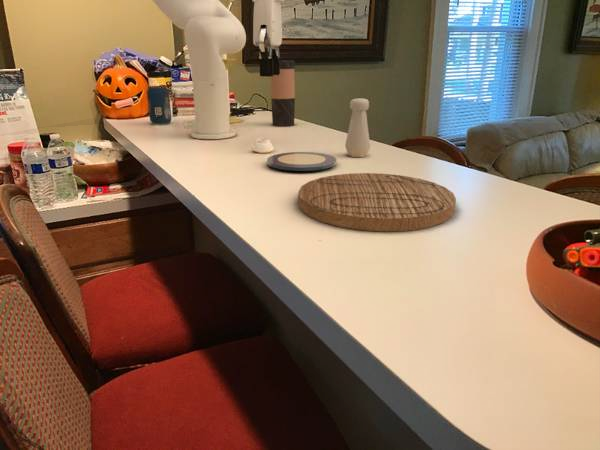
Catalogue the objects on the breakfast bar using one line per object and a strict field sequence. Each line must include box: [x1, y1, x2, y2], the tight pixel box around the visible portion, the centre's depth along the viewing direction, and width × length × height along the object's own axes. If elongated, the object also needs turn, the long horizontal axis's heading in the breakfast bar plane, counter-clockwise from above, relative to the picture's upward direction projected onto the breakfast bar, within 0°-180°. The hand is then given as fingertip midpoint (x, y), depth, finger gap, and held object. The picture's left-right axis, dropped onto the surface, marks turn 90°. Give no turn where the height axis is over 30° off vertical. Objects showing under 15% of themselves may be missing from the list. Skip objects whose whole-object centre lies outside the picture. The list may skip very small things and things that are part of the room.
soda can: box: [146, 85, 172, 126], centre depth 156 cm, size 7×7×12 cm
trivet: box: [297, 172, 457, 232], centre depth 76 cm, size 25×25×2 cm
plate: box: [266, 151, 337, 172], centre depth 102 cm, size 15×15×1 cm
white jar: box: [252, 137, 275, 154], centre depth 115 cm, size 5×3×5 cm
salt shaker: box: [345, 97, 371, 158], centre depth 109 cm, size 6×6×13 cm
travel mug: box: [270, 59, 296, 127], centre depth 151 cm, size 8×8×20 cm
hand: (270, 74), depth 116 cm, fingers open, 5 cm apart
